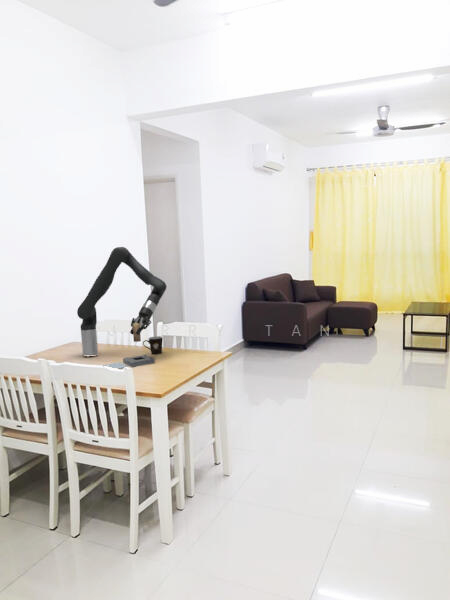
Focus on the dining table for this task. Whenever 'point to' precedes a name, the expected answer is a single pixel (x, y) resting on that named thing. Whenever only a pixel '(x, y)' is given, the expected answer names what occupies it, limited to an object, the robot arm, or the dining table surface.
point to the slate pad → (116, 365)
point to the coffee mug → (155, 344)
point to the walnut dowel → (135, 328)
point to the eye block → (138, 360)
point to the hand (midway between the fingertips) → (134, 333)
